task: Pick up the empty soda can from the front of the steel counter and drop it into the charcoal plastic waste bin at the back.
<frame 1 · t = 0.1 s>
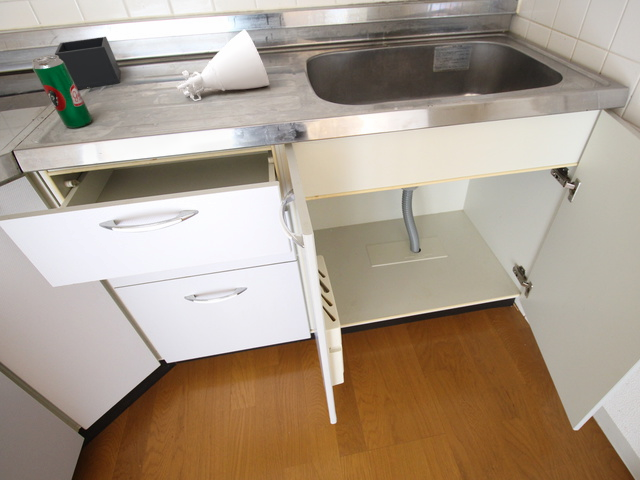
bin: (98, 80, 97), on the counter
soda can: (80, 124, 78), on the counter
rocket engine: (227, 90, 88), on the counter
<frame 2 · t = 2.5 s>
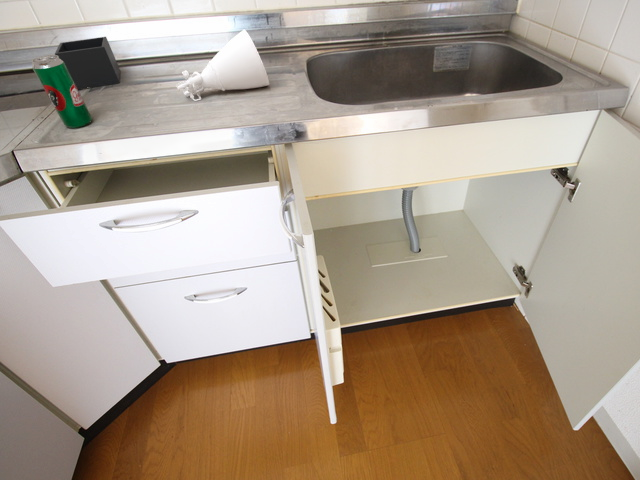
nothing on the counter moved.
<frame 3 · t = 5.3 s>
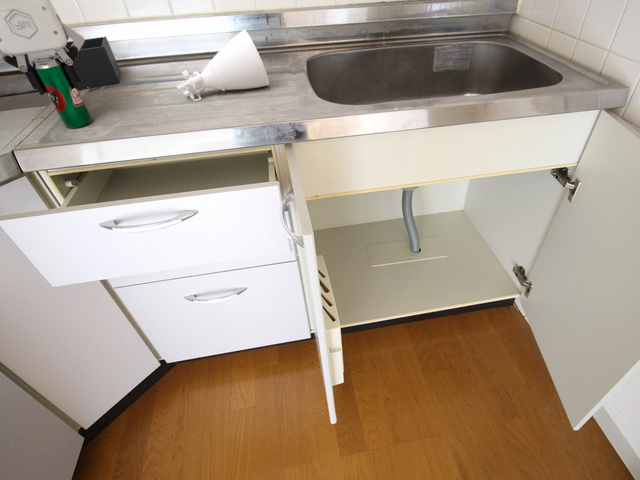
hand: (60, 88, 73), 7 cm above the counter, tool pointing down, fingers closed on soda can, 5 cm apart
soda can: (80, 124, 78), on the counter, touching gripper
everything else where it was.
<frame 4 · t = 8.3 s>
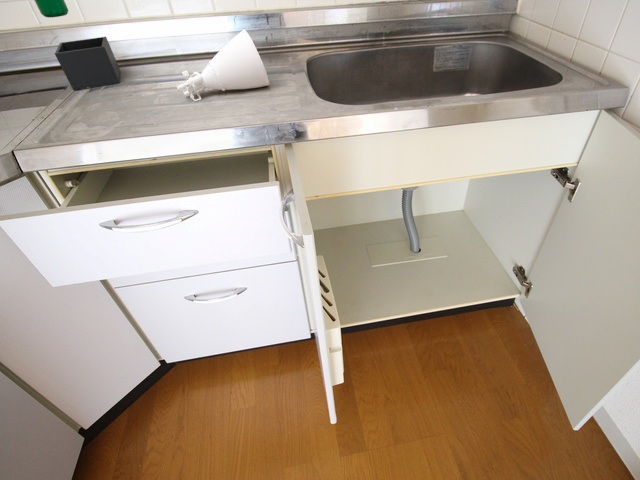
soda can: (57, 16, 81), point 15 cm above the counter, touching gripper
everything else where it was.
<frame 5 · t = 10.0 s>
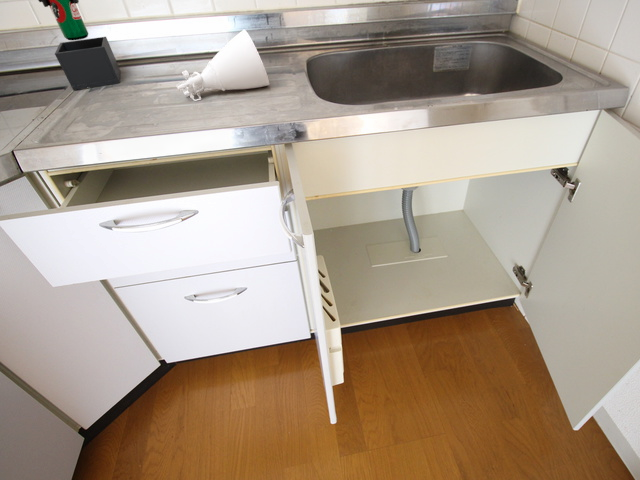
hand: (61, 3, 86), 16 cm above the counter, tool pointing down, fingers closed on soda can, 5 cm apart
soda can: (78, 38, 90), point 9 cm above the counter, touching gripper
everything else where it was.
when the fingers open (12 cm above the counter, at t = 11.6 s): soda can drops 4 cm, resting on bin.
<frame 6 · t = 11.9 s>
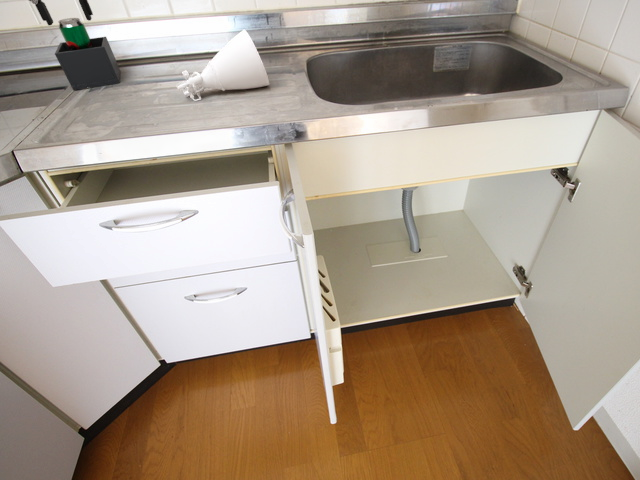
hand: (70, 21, 88), 13 cm above the counter, tool pointing down, fingers open, 7 cm apart
soda can: (94, 77, 96), point 1 cm above the counter, touching bin
everything else where it was.
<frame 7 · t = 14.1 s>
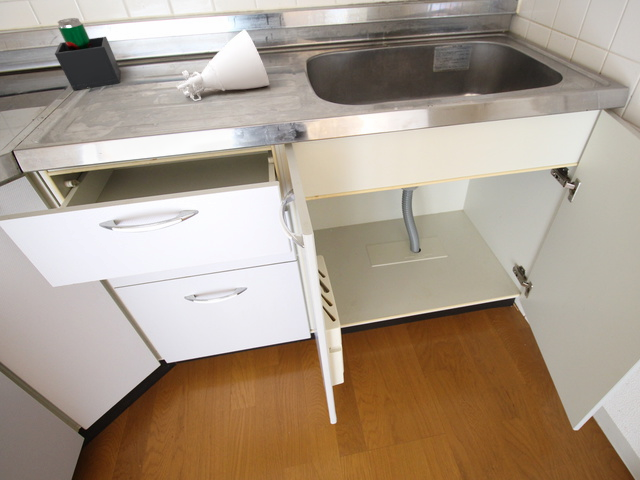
nothing on the counter moved.
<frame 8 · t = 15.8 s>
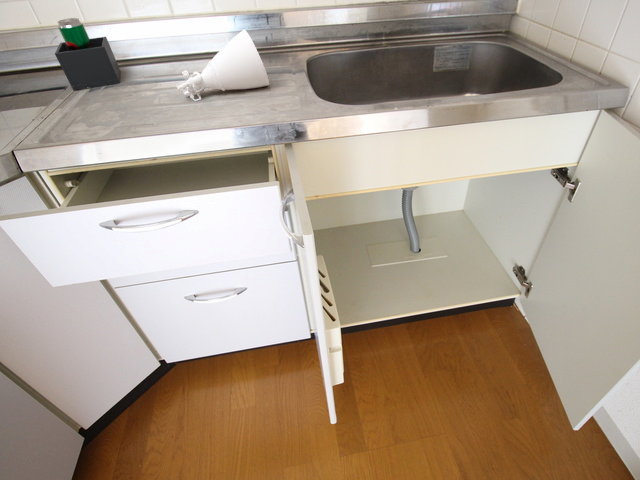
nothing on the counter moved.
at the end: soda can inside the target area in the bin (0.4 cm from its centre), point 0.8 cm above the bin's base; the gripper is holding nothing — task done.
